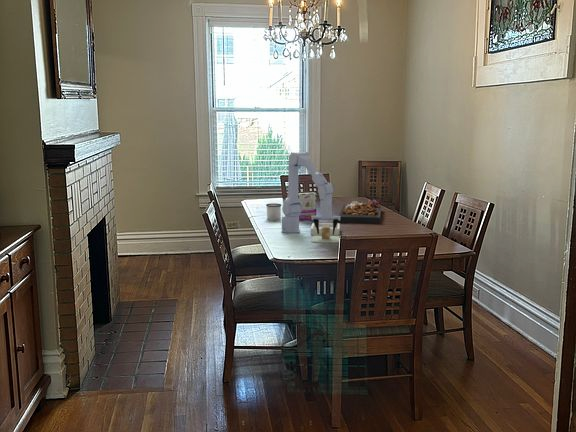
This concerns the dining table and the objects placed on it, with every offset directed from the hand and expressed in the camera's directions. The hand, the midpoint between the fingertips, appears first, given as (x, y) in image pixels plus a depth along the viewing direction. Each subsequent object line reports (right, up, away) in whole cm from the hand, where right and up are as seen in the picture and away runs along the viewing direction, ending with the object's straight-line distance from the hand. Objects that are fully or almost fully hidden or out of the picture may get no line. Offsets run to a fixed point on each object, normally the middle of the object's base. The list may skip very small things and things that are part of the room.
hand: (325, 233), depth 293 cm
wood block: (0, -2, +1) cm, 2 cm away
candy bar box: (-8, +7, +55) cm, 56 cm away
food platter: (+26, +8, +65) cm, 70 cm away
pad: (0, -3, +1) cm, 3 cm away
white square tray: (+1, 0, +18) cm, 18 cm away
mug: (-28, +7, +59) cm, 66 cm away
